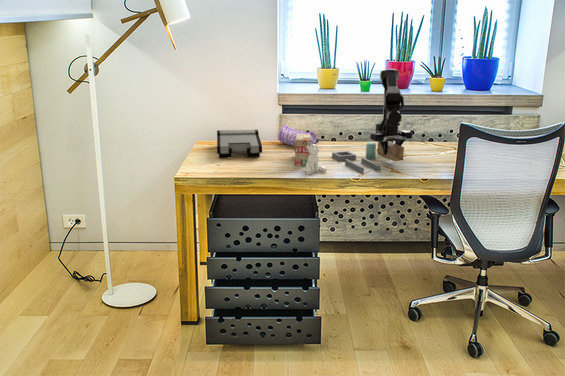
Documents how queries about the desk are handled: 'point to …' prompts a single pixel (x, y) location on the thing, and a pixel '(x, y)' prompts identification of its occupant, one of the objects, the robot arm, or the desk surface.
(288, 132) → the pencil case
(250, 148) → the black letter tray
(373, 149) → the nose cylinder
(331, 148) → the desk surface
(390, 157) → the block
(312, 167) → the sitting furry creature
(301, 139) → the stack of blocks
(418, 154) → the desk surface
